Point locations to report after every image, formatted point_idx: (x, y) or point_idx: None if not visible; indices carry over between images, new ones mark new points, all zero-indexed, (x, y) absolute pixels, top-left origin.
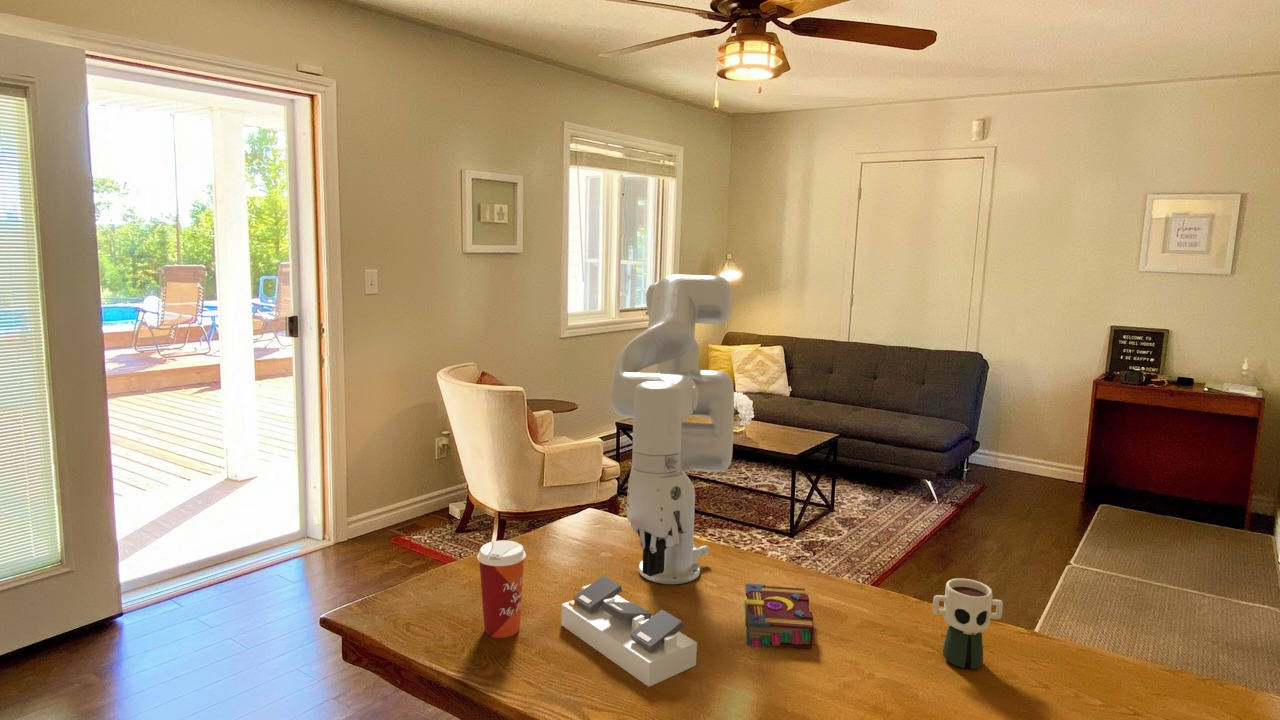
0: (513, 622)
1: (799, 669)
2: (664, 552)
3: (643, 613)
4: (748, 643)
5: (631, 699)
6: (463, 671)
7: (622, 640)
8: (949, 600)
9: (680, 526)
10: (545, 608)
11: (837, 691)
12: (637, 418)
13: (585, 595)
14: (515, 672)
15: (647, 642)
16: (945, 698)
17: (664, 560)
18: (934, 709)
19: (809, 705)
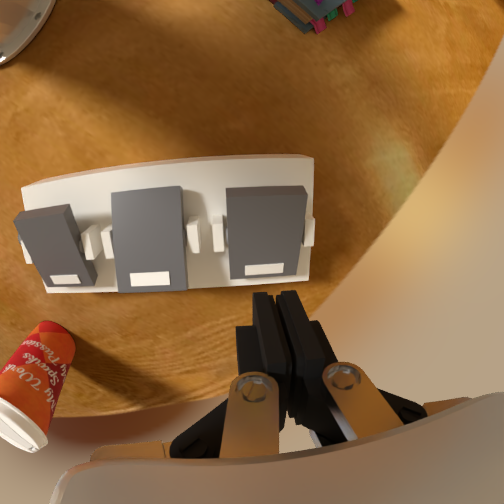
0: (67, 352)
1: (402, 42)
2: (317, 342)
3: (181, 216)
4: (307, 31)
5: (303, 296)
6: (133, 403)
7: (214, 278)
8: None
9: (491, 418)
10: (16, 266)
11: (454, 63)
12: None
13: (54, 273)
14: (159, 373)
15: (282, 272)
16: (494, 16)
17: (306, 315)
18: (501, 40)
19: (454, 114)
